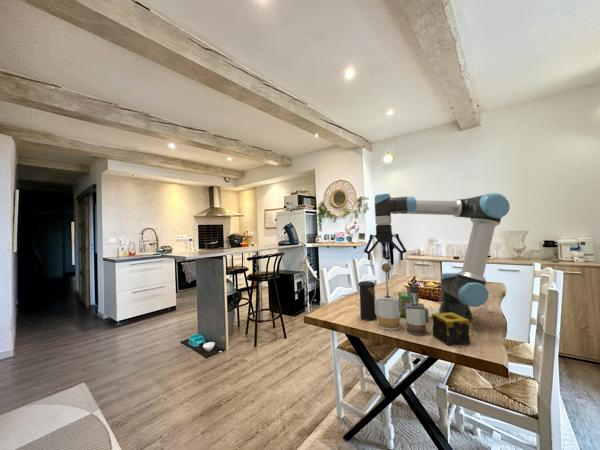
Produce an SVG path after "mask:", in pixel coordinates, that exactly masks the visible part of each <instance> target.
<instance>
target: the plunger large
mask: <svg viewBox="0 0 600 450" xmlns="http://www.w3.org/2000/svg"><path fill="white" fill-rule="evenodd" d="M391 269H392V268H391V264H389V263H383V264H382V265H381V270H382V272H384V273H385V292H386V295H387V298H389V295H390V294H389V293H390V292H389V279H388V277H389V276H388V275H389V274H388V272H390V271H391Z"/></svg>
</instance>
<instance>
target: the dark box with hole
mask: <svg viewBox="0 0 600 450" xmlns="http://www.w3.org/2000/svg"><path fill="white" fill-rule="evenodd" d="M431 317H432V322H433V324H432V336H433V337H434V338H435V339H437V340H438V341H440V342H442V343H443V344H445V345H447V346H460V345H469V344H471V337H470V321H469V320H468V319H465V318H463V317H461V316H459V315H457V314H455V313H453V312H450V313H439V312H438V313H437V312H436V313H432V314H431Z"/></svg>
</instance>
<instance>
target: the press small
mask: <svg viewBox="0 0 600 450" xmlns="http://www.w3.org/2000/svg"><path fill="white" fill-rule="evenodd" d="M405 318H406V333H408V334H410V335H413V336H418V337H421V336H426V335H427V327H426V326H427V324H429V320H430V319H429V309H428V308H427V307H425V305H424V303H416V306H414V303H406V317H405Z"/></svg>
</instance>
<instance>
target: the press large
mask: <svg viewBox="0 0 600 450" xmlns="http://www.w3.org/2000/svg"><path fill="white" fill-rule="evenodd" d="M374 301H375V314H376V315H377V316H378V317H377V319H378V325H377V326H378V327H379V328H380V329H382V330H386V331H398V330H400V329H401V328H402V327H401V319H400V318H401V317H400V316H401V315H400V313H399V297H398V295H393V294H392V295H390V294H389V298H387V294H378V296H377V298H375V300H374Z"/></svg>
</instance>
